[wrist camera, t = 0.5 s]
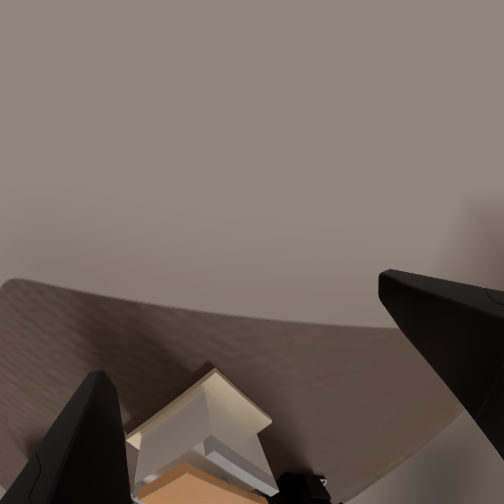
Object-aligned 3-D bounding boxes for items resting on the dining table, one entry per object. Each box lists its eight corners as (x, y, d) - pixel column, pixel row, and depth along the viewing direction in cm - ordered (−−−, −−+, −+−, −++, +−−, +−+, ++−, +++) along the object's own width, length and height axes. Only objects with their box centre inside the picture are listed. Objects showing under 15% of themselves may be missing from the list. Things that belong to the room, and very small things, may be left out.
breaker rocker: (262, 491, 20) (269, 506, 18) (219, 515, 19) (225, 530, 18) (182, 452, 17) (186, 472, 15) (136, 481, 16) (138, 500, 15)
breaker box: (270, 416, 28) (301, 481, 18) (184, 475, 27) (189, 542, 17) (214, 367, 26) (229, 431, 17) (127, 434, 25) (113, 503, 16)
